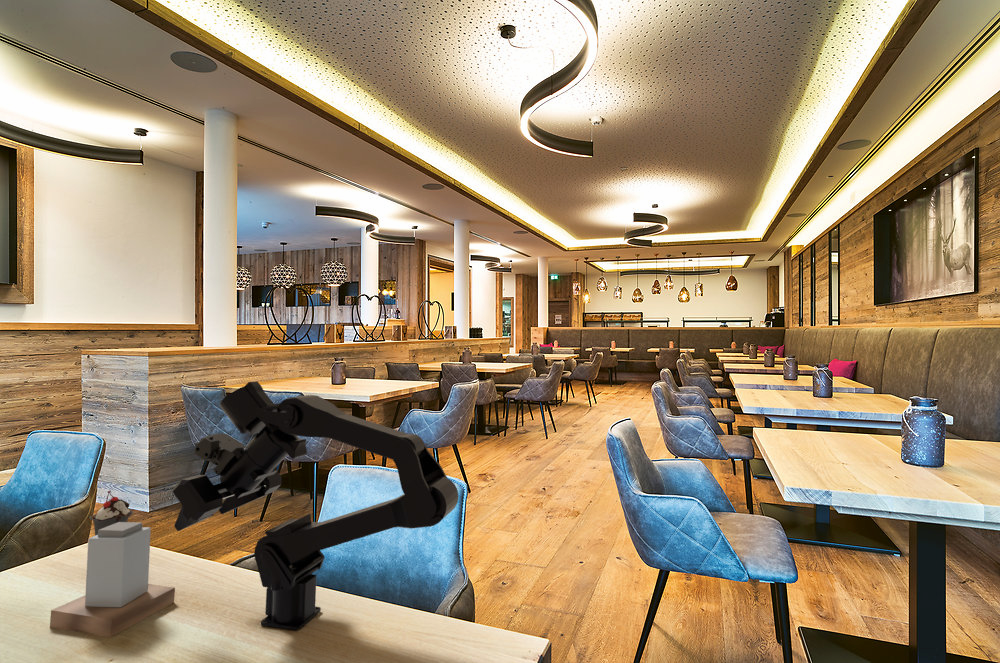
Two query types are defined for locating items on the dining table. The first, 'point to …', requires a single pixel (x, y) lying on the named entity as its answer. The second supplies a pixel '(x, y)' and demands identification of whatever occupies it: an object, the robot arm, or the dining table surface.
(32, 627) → the dining table surface
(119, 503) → the sundae
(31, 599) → the dining table surface
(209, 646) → the dining table surface
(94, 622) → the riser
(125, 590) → the grey rectangular block
